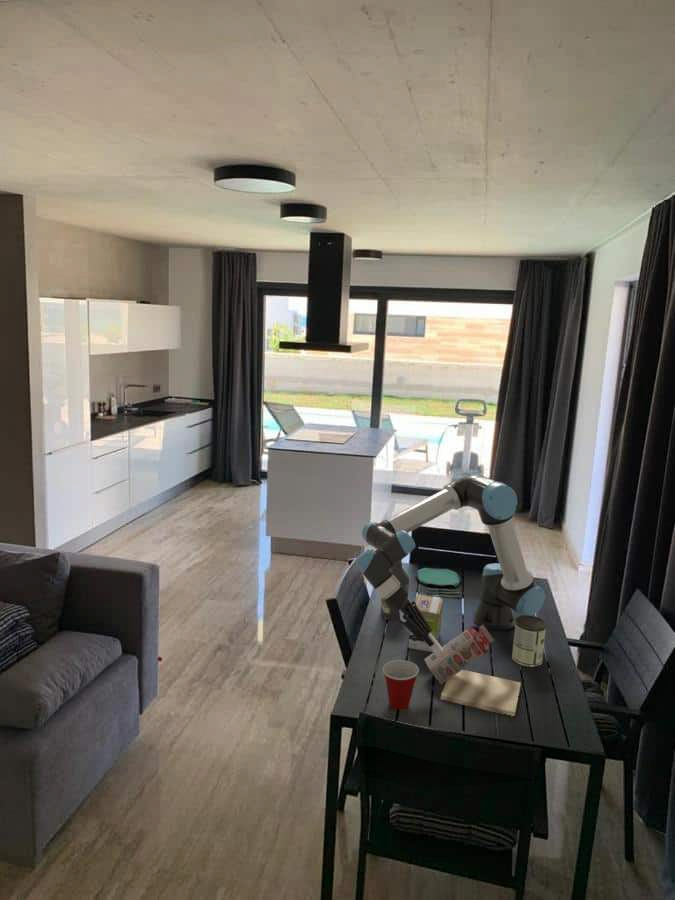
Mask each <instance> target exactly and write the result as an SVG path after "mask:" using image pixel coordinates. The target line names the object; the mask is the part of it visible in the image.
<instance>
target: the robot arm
mask: <svg viewBox="0 0 675 900" xmlns="http://www.w3.org/2000/svg"><path fill="white" fill-rule="evenodd" d="M517 505H518V496H517V494H516V493H515V490H513V488H512V487H511V486H508V485H507V484H506V483H504V482H501V481H497V480H495V479H491V478H488V477H486V476H484V475H481V474H472V475H471V474H470V475H465V476H462V477H460V478H458V479H454V480H453V481H451V482H449V483H447V484H445V485H443V488H442V489H441V490H440V491H438V492H435V493H434V494H432V495H430V496H429V497H427V498H425V499H422V500H421V501H418V502H417V503H415V504H413V505H411V506H409V507H408V508H406V509H404V510H401V511H400V512H398V513H396V514H395V515H393V516H391V517H389V518H386V519H385V520H383V521H381V522H375V521H371V522H367V523H366V524H365V525H364V526H363V528H362V530H361V536H362V539H363V540H364V541H365V543H367V544H368V545H369V546H371V547H369V548H367V549H366V550H365V551H364V552H362V553H361V554H360V555H358V556H357V557H356V558H355V560H354V564H355V566H356V567H357V568H358V570H359V571H360V573H361V574H362V575H363V577H364V578H365V579H366V580H367V581H368V583H369V584H370V585H371V586H372V588H373V589H374V590H375V592H376V594H378V595H379V597H381V598H385V599H384V602H385V603H386V604H387V605H388V607H389V608H390V609H393V608H395V609H396V610H397V612H398V614H399V615H400V618H399V619H398V620H397V621H398V622H399V623H400V624H403V625H404V626H405V628H407V629H408V630H409V632H410V631H411V632H412V633H413V634H414V635H415V636H416V637H417V638H418V639H419V640H422V639H423V640H424V641H425V642H426V643H427V645H428V646H429V647H430V648H431V650H432V651H433V652H432V653H435V655H437V654H439V653H440V652H442V651H443V648H442V647H443V646H441V644H440V642H439V640H438V641H437V640H436V639H435V638H434V636H433V635H432V634H431V633H430V632H431V631H432V629H429V628H430V626H429V624H428V623H427V621H426V620H425V618H424V616H423V615H422V613H421V612H420V610H419V609H418V607H417V605H416V603H415V600H413V601H410V599H409V592H408V593H407V591H406V590H405V589H404V587H403V586H400V582H399V581H398V580H397V579H396V577H395V576H394V575H393V574H392V573H391V571H390V569H391V568H392V567H393V566H394V565H396V564H397V563H398V562H399V561H401V560H402V561H403V559H404V558H406V557H407V556H409V554H410V553H411V552H412V551H413V550H414V549H415V548H416V543H415V541H414V538H412V536H411V534H410V533H411V532H412V531H414V530H417V529H418V528H419V527H422V526H423V525H425V524H426V523H429V522H431V521H433V520H434V519H437V518H439V517H440V516H442V515H444V514H445V513H448V512H449V511H452V510H456V511H457V510H459V509H461V508H463V507H470V508H472V509H475V510H477V512H478V515H479V518H480V520H481V523H482V525H483V524H484V525H485V526H487V529H488V532H489V535H490V537H491V540H492V544H493V547H494V551H495V554H496V557H497V561H498V563H495V562H494V563H488V564H486V565H485V566H484V567H483V571H482V575H481V576H482V577H481V588H480V589H481V590H480V599H479V603H478V604H477V606H476V609H475V611H474V613H473V621H474V622H475V624H476V625H478V626H479V627H480V626H482V625H484V626H485V628H486V629H487V630H491V631H498V632H499V631H500V632H501V631H508V630H511V629H512V628H513V627H515V617H514V616H515V615H514V613H513V611H515V612H516V613H517V614H519V615H520V614H521V616H523V615H528V616H534V615H535V614H536V613H538V612H539V611H540V609H541V608H542V607H543V605H544V602H545V598H546V594H545V592H544V591H545V590H543V589H542V588H541V587H540V586H538V585H537V584H536V580H535V578H534V575H533V573H532V572H531V571H529V570H528V569H527V566H526V563H525V558H524V556H523V552H522V550H521V546H520V543H519V539H518V534H517V533H516V529H515V526H514V522H513V518H515V517H514V516H515V512H516V510H517V508H516V507H518V506H517ZM373 548H374V549H373ZM375 549H376V550H375ZM407 597H408V599H407ZM381 598H380V599H381Z"/></svg>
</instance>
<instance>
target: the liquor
mask: <svg viewBox="0 0 675 900" xmlns="http://www.w3.org/2000/svg"><path fill="white" fill-rule="evenodd" d="M402 561H403V559H402V560H401V561H399V562H398V563H397V564H396V565H394V566H393V567H392V568H391V569H390V571H391V573H392V574H393V575H394V576H395V577H396V579H397V580H398V581H399V582H400V586H403V587H404V589H405V590H406V591H407V593H408V594H409V590H410V589H409V588H410V577H409V575H408V573H407V572H406V571H405V569H404V568H403V564H402V563H403V562H402ZM380 599H381V601H380V613H381V614H382V615H381V616H382V617H383V619H384V618H386V619H385V620H387V619H388V620H387V621H399V620H398V619H399V618H400V615H399V614H398V612H397V610H396V609H395V608H393V609H390V608H389V607H388V605H387V604H386V603H385V602H384V599H385V598H380ZM407 599H408V600H409V596H408V597H407Z"/></svg>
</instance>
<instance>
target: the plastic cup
mask: <svg viewBox="0 0 675 900" xmlns="http://www.w3.org/2000/svg"><path fill="white" fill-rule="evenodd" d="M382 672H383V675H384V677H385V683H386V689H387V690H386V692H387V695H388V696H387V697H388V704H389V706H390V708H392V709H394V710H397V711H403V710H404V711H405V710H406V709H408V708H409V705H410V702H411V698H412V695H413V691H414V687H415V684H416V683H415V682H416V681H417V676H418V674H419V673H420V669H419V667H418V665H417V664H416V663H414V662H412V661H410V660H403V659H395V660H391V661H390V660H389V661H388V662H386V663H385V664H384V665H383V666H382Z"/></svg>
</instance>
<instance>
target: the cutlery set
mask: <svg viewBox="0 0 675 900" xmlns="http://www.w3.org/2000/svg"><path fill="white" fill-rule="evenodd" d="M415 577H416V579H417V580H418V581H419V583H421V584H423V585H425V586H426V585H429V586H433V587H451V586H454V587H455V588H457V587H459V585H460V582H461V579H462V578H461V576H460V575H459V574H458V572H456V571H454V570H450V569H448V568H437V567H423V568H421V569H418V570H417V572H416V573H415ZM426 589H427V590H426V592H425V593H427V592H428V593H430V594H429V595H432V596H433V597H439V598H448V597H449V598H451V599H455V598H456V599H462V598H463V597H462V595H461V591H460V590H453V589H448V588H442V589H441V588H428V587H427V588H426ZM438 590H441V591H438ZM429 591H435V592H434V593H436V594H433V592H429ZM437 592H438V593H437ZM441 592H442V593H443V594H439V593H441ZM445 594H446V595H445ZM448 594H449V595H448ZM450 594H452V595H450ZM449 598H448V599H449Z"/></svg>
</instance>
